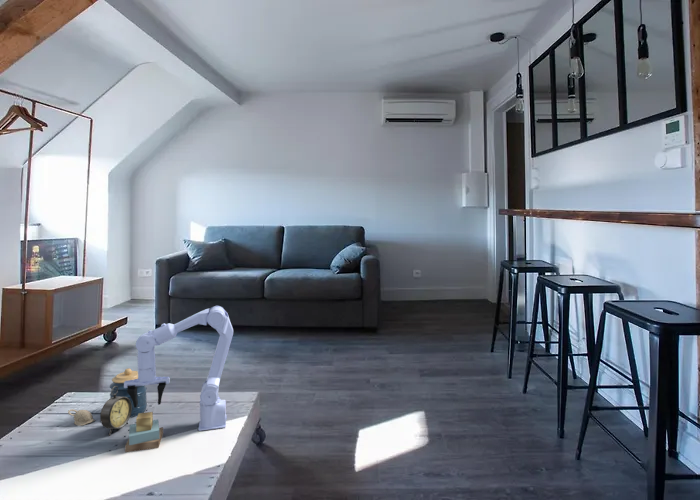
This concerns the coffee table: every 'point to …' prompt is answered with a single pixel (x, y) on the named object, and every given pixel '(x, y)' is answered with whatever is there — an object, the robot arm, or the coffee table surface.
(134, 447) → the tower base
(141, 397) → the canister
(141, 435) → the tower top
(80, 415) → the decorative ornament
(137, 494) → the coffee table surface
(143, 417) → the ochre cube
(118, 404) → the alarm clock
